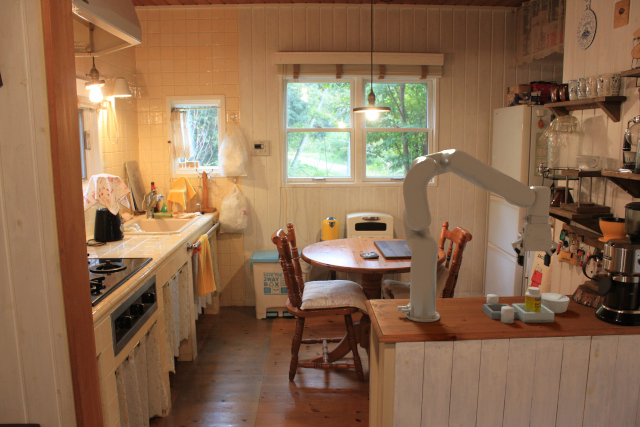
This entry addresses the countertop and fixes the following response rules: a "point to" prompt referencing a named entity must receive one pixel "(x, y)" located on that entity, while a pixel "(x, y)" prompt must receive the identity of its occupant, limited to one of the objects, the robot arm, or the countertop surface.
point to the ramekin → (555, 302)
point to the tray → (533, 314)
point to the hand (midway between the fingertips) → (533, 265)
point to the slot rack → (499, 309)
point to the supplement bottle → (533, 300)
